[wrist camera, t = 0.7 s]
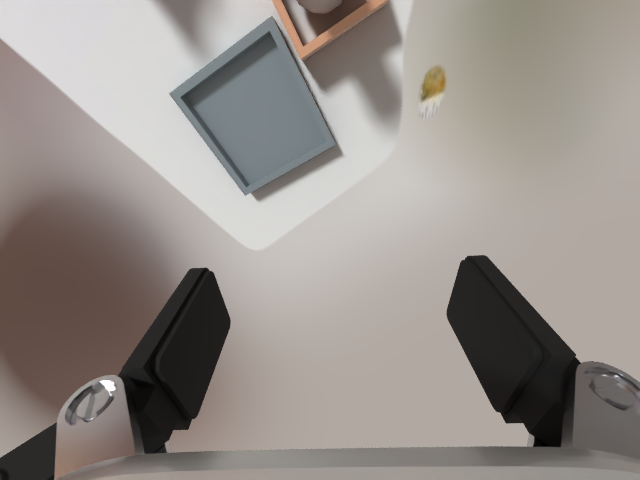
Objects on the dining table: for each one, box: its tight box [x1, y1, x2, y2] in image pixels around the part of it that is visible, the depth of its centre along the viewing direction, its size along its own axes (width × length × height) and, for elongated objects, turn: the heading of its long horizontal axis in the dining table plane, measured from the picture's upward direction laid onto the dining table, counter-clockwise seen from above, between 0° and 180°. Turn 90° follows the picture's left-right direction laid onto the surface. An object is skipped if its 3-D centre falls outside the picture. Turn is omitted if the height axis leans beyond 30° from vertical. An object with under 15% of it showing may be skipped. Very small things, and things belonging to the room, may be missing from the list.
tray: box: [170, 16, 336, 196], centre depth 30 cm, size 13×13×2 cm
